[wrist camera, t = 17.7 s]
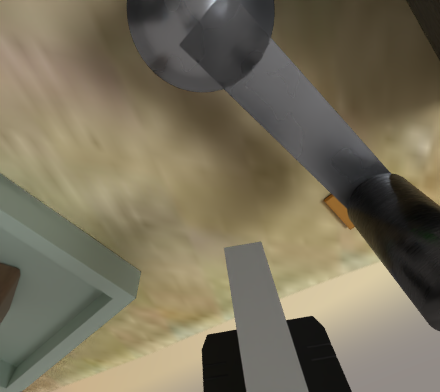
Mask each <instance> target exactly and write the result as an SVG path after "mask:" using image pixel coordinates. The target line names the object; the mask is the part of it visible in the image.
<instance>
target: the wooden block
mask: <svg viewBox="0 0 440 392" xmlns="http://www.w3.org/2000/svg"><path fill="white" fill-rule="evenodd" d="M19 279H20V269H18V268H16V267H13V266H10V265H6V264H3V263H0V324H1V322H2V321H3V319H4V318H5V316H6V314H7V313H8V311H9V309H10V306H11V303H12V300H13V297H14V294H15V291H16V288H17V285H18V282H19Z"/></svg>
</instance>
